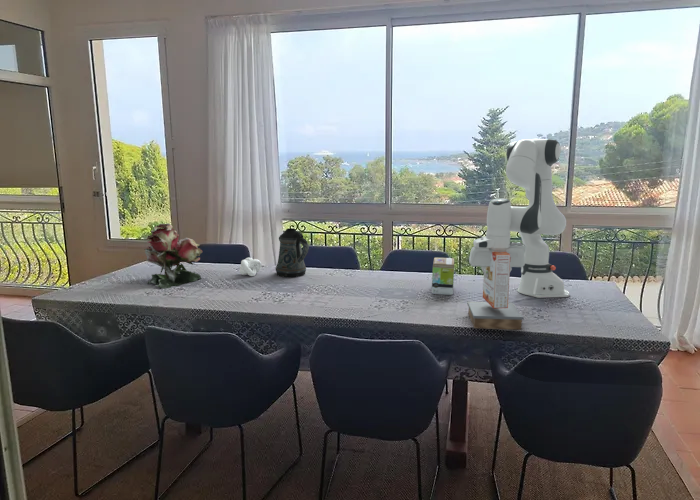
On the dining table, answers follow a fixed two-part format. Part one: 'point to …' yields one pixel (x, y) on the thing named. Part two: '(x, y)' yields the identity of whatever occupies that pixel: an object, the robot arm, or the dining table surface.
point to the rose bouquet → (171, 256)
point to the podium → (494, 316)
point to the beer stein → (291, 254)
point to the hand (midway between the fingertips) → (495, 277)
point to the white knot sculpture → (250, 266)
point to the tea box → (443, 276)
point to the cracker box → (497, 280)
